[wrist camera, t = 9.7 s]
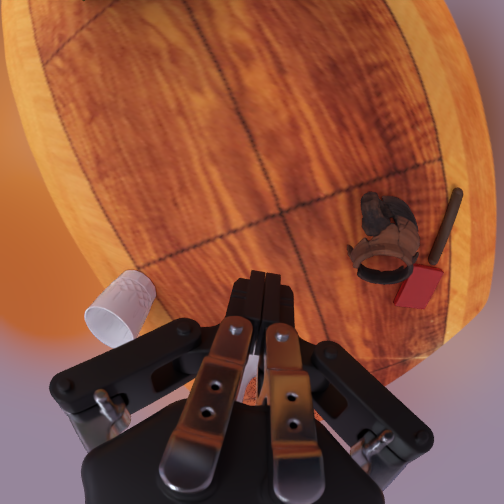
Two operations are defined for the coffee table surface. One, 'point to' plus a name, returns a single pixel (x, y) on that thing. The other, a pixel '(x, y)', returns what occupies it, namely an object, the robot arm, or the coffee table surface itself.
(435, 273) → the spatula
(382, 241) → the dark brown curved piece
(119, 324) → the white cup
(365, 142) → the coffee table surface
